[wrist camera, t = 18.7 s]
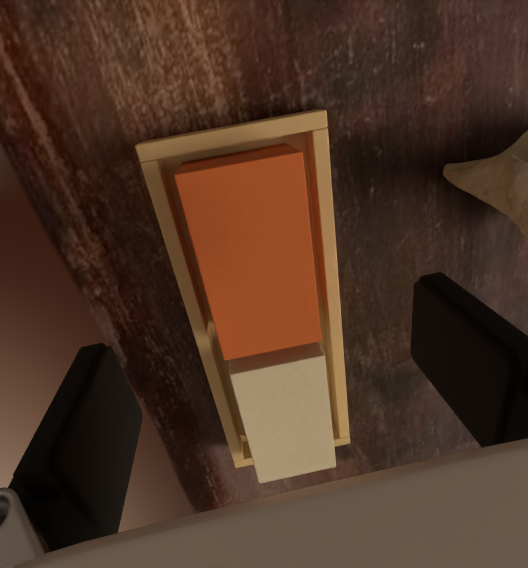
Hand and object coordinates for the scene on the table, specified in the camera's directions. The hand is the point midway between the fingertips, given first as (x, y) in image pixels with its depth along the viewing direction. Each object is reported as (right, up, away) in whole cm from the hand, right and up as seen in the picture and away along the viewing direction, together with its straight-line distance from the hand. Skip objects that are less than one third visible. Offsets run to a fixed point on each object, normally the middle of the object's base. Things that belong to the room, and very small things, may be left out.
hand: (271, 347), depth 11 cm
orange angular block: (-1, +4, +10) cm, 11 cm away
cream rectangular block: (+1, -5, +15) cm, 16 cm away
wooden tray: (0, 0, +13) cm, 13 cm away
